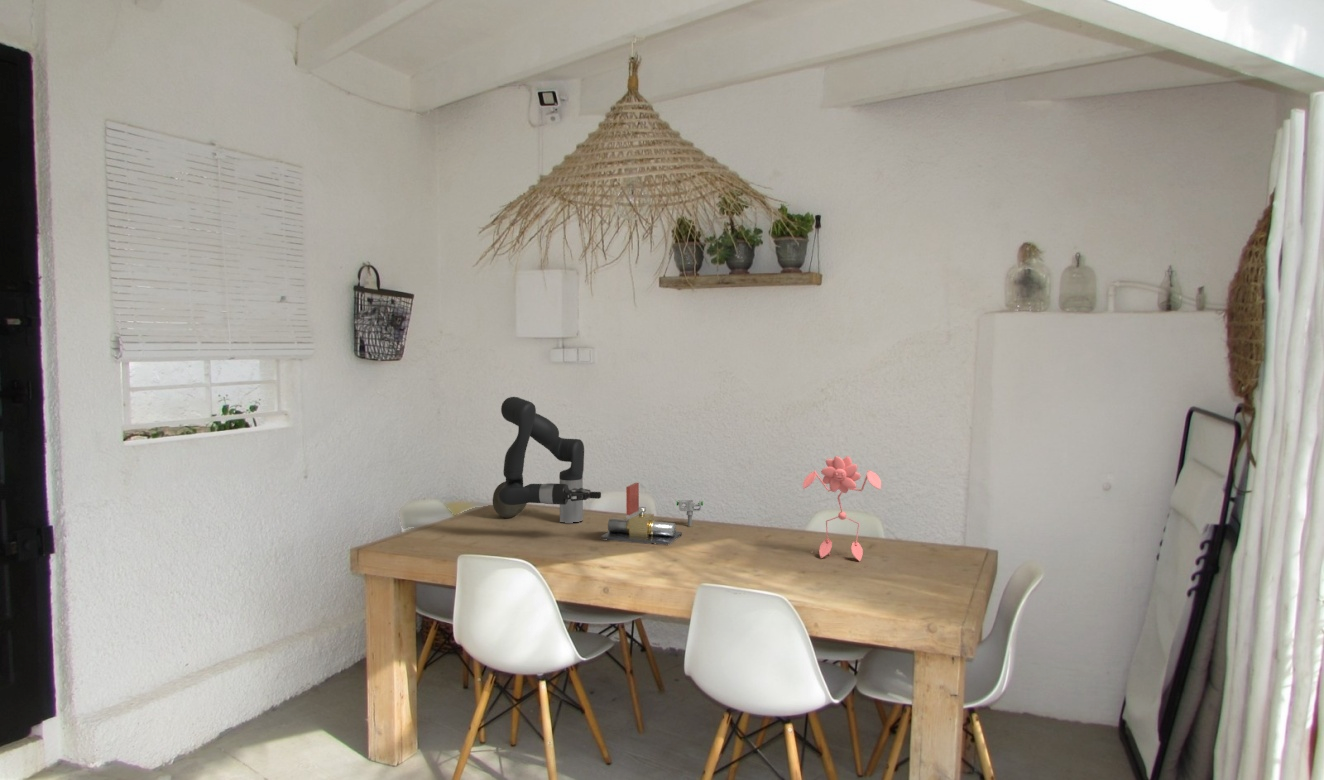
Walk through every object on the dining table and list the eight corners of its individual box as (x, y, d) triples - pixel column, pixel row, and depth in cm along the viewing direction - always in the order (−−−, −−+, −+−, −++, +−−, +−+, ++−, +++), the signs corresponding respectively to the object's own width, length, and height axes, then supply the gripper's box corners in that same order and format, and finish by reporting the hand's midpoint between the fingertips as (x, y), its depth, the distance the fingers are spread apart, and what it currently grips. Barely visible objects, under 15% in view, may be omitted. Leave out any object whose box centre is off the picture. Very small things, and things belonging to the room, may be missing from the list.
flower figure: (805, 551, 284) (805, 450, 281) (882, 559, 275) (883, 455, 272) (795, 564, 270) (795, 458, 267) (876, 572, 261) (877, 462, 258)
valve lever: (623, 518, 293) (623, 486, 292) (639, 509, 307) (638, 479, 307) (632, 518, 292) (632, 487, 291) (647, 510, 306) (647, 480, 306)
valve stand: (600, 539, 303) (600, 513, 302) (617, 530, 318) (617, 505, 317) (668, 545, 294) (668, 518, 294) (681, 535, 309) (681, 509, 309)
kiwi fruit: (492, 522, 332) (492, 484, 331) (492, 514, 346) (492, 479, 345) (528, 520, 335) (528, 483, 334) (527, 513, 349) (526, 477, 348)
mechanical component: (702, 527, 322) (702, 501, 322) (676, 527, 322) (676, 501, 322) (702, 525, 325) (702, 500, 325) (676, 525, 325) (676, 500, 325)
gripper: (548, 486, 294) (596, 488, 292) (559, 480, 307) (604, 481, 305) (548, 507, 295) (596, 509, 292) (559, 500, 308) (604, 501, 305)
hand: (600, 495), depth 298 cm, fingers closed
